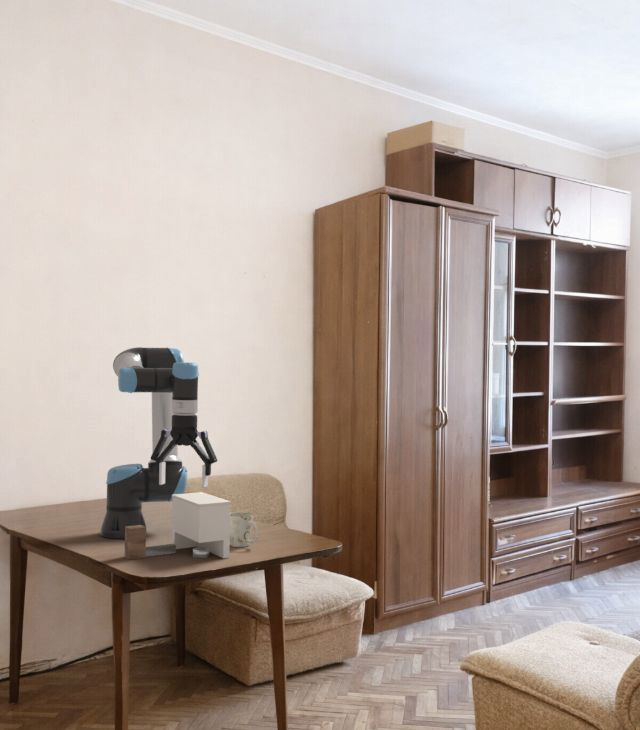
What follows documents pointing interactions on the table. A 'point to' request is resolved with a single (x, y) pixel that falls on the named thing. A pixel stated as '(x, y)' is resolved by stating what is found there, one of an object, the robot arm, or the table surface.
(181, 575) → the table surface
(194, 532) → the cabinet
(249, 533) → the mug
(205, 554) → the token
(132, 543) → the blade tool
